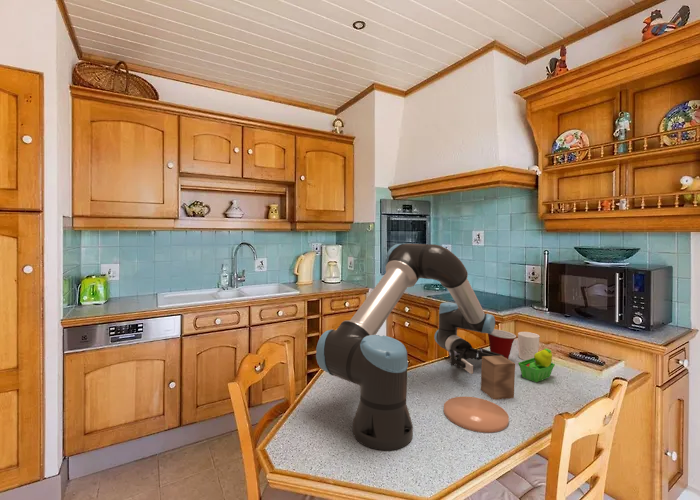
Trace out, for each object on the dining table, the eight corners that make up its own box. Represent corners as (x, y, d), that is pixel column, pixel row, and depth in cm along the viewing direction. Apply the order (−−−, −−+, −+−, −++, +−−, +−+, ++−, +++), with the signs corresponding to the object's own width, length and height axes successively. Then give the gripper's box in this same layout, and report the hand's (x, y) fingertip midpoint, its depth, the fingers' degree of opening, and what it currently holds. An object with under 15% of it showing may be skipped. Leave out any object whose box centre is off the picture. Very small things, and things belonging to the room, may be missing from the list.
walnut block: (493, 399, 105) (494, 364, 105) (480, 389, 112) (481, 356, 111) (513, 398, 106) (515, 363, 106) (500, 388, 113) (501, 355, 113)
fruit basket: (534, 370, 129) (535, 340, 128) (558, 379, 121) (560, 347, 121) (516, 376, 123) (517, 345, 122) (541, 386, 115) (542, 353, 115)
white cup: (539, 357, 143) (540, 333, 142) (538, 363, 136) (539, 338, 136) (518, 353, 147) (519, 330, 146) (516, 359, 140) (517, 335, 140)
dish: (462, 435, 86) (462, 430, 86) (433, 402, 103) (434, 398, 103) (522, 429, 89) (523, 424, 89) (485, 398, 106) (485, 394, 106)
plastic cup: (518, 368, 131) (519, 337, 130) (488, 365, 133) (489, 335, 132) (511, 358, 141) (512, 329, 141) (483, 355, 143) (484, 327, 143)
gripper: (487, 355, 137) (523, 377, 116) (428, 358, 132) (455, 382, 111) (488, 337, 137) (524, 355, 116) (429, 339, 132) (456, 359, 111)
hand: (490, 368), depth 114 cm, fingers open, 13 cm apart
